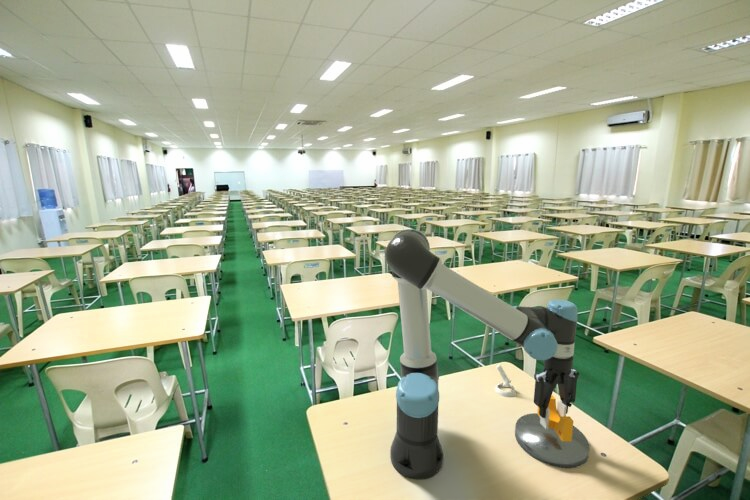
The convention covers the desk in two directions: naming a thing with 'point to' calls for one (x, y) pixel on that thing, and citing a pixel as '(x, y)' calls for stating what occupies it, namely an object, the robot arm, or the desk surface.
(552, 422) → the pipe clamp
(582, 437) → the dark grey flat disc
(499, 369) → the white ring with handle
